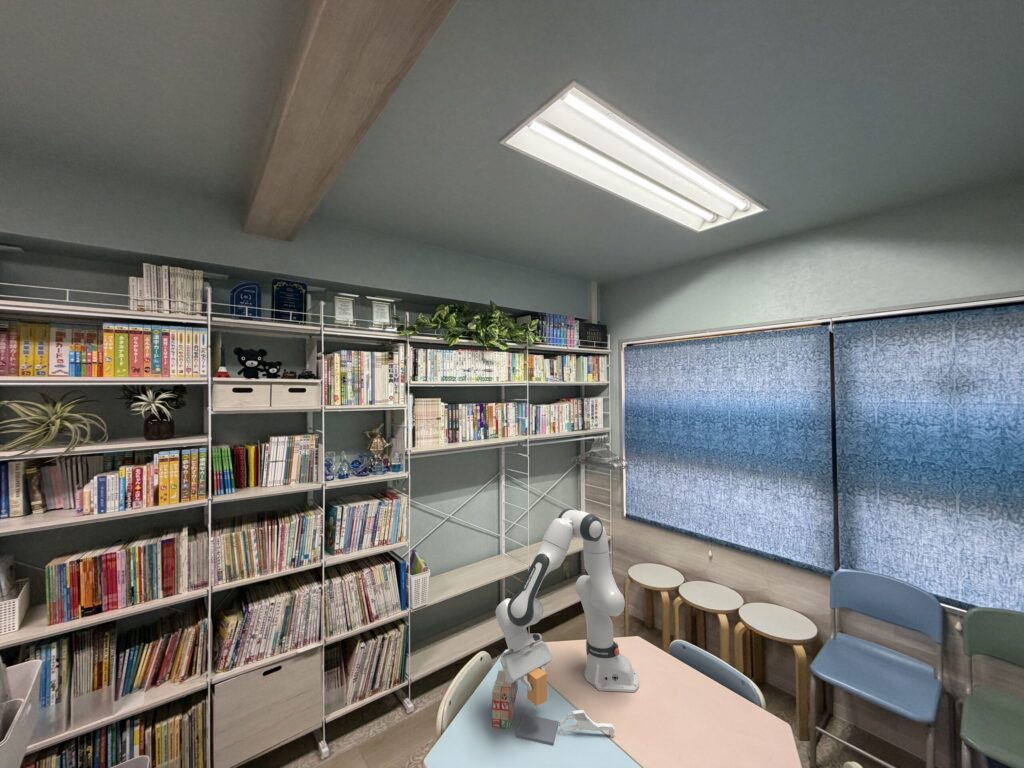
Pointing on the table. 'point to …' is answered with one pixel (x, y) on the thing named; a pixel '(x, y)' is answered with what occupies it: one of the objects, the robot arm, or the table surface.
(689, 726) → the table surface
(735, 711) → the table surface
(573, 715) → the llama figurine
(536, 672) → the orange block
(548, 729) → the slate mat
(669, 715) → the table surface
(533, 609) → the robot arm
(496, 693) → the stack of blocks
